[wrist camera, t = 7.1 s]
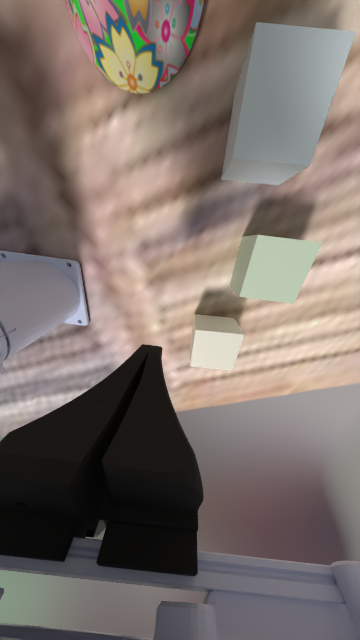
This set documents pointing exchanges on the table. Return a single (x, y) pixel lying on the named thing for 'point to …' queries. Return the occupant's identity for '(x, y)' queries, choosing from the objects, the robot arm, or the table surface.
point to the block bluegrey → (282, 100)
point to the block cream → (214, 342)
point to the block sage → (272, 267)
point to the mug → (136, 38)
